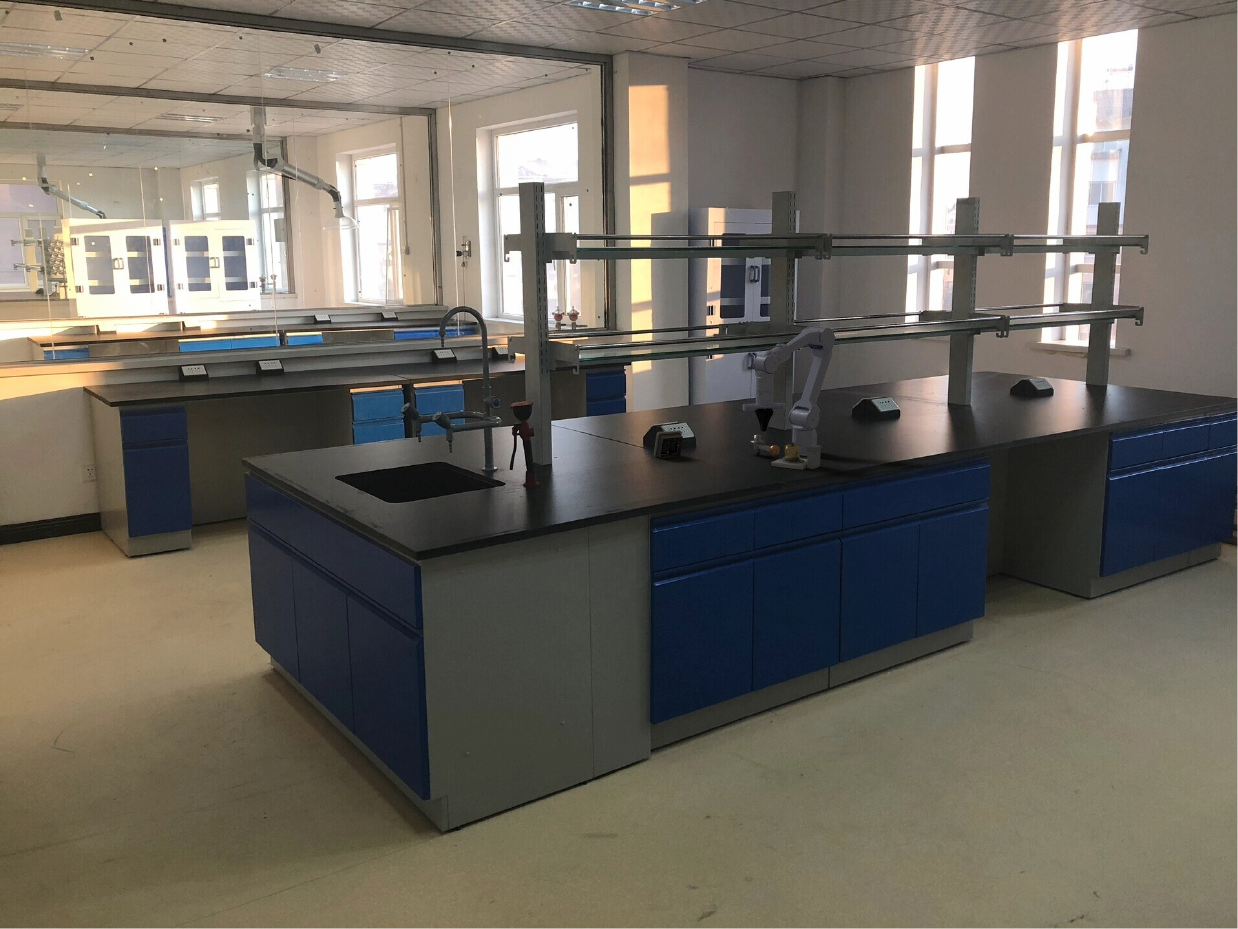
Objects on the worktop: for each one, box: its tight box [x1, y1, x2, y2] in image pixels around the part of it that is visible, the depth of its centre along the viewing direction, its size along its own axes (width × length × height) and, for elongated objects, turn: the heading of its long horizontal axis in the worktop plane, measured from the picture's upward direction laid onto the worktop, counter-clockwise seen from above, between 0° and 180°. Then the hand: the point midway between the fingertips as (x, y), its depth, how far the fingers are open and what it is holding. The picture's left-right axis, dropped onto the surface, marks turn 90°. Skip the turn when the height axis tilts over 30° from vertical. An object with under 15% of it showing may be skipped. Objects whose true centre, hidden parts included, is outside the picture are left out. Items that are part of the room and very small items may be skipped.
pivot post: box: [749, 434, 766, 457], centre depth 351 cm, size 5×5×7 cm
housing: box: [784, 441, 801, 462], centre depth 336 cm, size 5×5×6 cm
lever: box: [758, 444, 781, 457], centre depth 345 cm, size 10×4×4 cm, turn 27°
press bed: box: [770, 444, 822, 471], centre depth 335 cm, size 11×14×7 cm
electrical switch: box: [653, 429, 684, 459], centre depth 348 cm, size 9×5×9 cm, turn 113°
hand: (763, 431), depth 342 cm, fingers closed
